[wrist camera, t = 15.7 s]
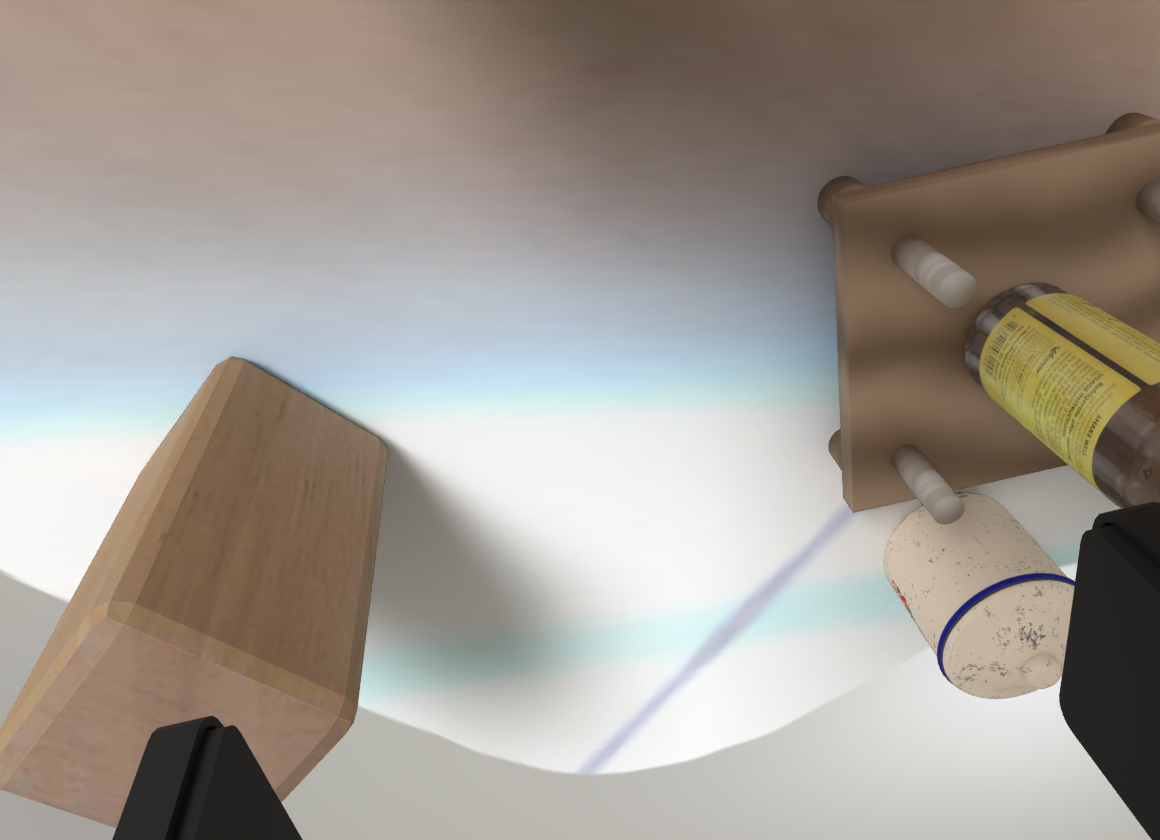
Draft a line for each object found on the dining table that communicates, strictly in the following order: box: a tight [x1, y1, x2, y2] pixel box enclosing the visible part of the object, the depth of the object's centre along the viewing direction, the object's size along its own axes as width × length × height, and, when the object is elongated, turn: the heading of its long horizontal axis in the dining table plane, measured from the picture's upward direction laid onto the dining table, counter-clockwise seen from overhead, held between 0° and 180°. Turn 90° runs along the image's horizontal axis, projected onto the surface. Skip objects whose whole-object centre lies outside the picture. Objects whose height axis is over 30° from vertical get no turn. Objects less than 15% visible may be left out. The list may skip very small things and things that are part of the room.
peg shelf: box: [818, 113, 1160, 525], centre depth 45 cm, size 18×18×10 cm
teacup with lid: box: [884, 493, 1075, 699], centre depth 54 cm, size 12×9×12 cm
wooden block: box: [0, 356, 388, 828], centre depth 41 cm, size 10×10×20 cm
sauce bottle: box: [964, 282, 1160, 509], centre depth 37 cm, size 6×6×20 cm
